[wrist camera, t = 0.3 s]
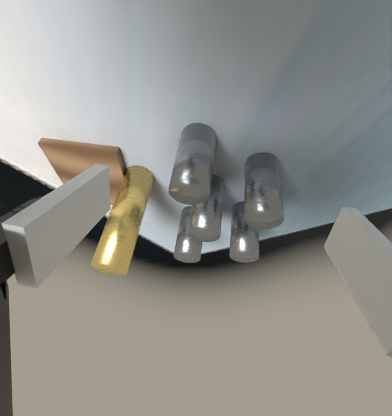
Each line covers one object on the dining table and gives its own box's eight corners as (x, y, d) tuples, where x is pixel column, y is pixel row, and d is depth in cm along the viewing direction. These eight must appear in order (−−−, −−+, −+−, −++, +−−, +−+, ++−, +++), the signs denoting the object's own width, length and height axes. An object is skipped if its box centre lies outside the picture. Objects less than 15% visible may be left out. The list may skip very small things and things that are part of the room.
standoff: (123, 164, 34) (85, 260, 26) (152, 167, 34) (122, 265, 26) (128, 182, 37) (96, 273, 29) (155, 186, 37) (129, 278, 29)
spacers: (181, 121, 27) (167, 176, 22) (292, 134, 26) (301, 193, 22) (181, 217, 43) (174, 260, 39) (250, 226, 43) (250, 271, 39)
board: (41, 138, 32) (37, 143, 31) (118, 147, 31) (116, 152, 31) (75, 194, 42) (73, 199, 41) (134, 202, 41) (132, 207, 41)
